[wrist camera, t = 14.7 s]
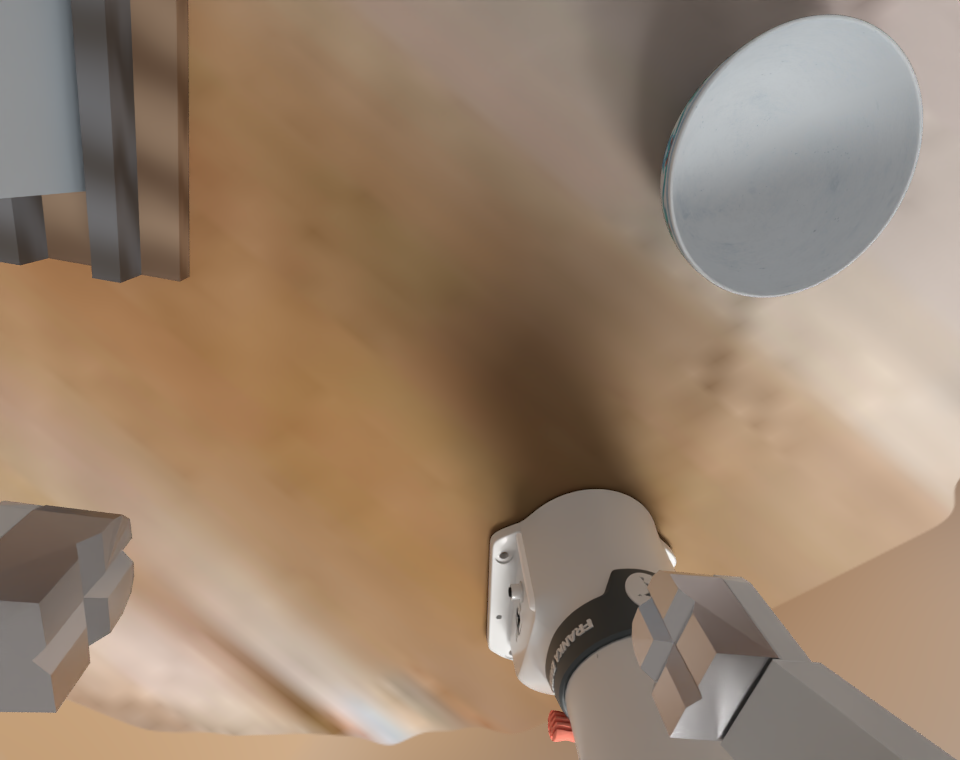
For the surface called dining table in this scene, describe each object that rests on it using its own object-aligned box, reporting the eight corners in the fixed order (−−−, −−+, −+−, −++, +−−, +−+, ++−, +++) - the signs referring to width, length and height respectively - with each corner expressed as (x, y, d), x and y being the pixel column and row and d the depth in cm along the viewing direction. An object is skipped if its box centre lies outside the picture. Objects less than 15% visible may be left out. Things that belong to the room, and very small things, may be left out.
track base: (189, 276, 35) (161, 289, 32) (-3, 242, 33) (-56, 252, 30) (186, -218, 26) (146, -281, 22) (-84, -309, 24) (-177, -395, 20)
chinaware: (599, 97, 33) (645, 79, 26) (818, 7, 32) (925, -35, 25) (647, 301, 39) (694, 332, 32) (832, 230, 39) (922, 246, 32)
